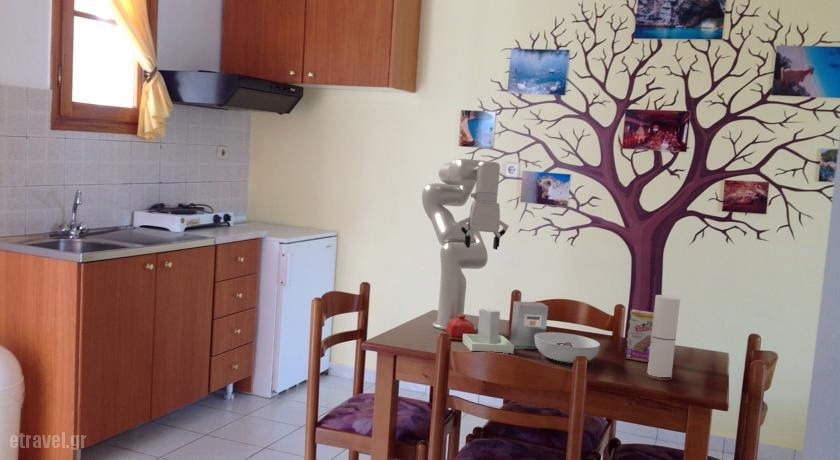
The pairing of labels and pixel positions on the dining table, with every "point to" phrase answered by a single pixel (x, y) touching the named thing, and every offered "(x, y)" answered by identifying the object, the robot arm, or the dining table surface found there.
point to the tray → (472, 344)
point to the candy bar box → (639, 334)
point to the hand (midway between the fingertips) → (481, 248)
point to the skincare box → (488, 326)
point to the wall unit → (527, 323)
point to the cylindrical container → (663, 336)
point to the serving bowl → (580, 346)
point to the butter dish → (459, 327)
